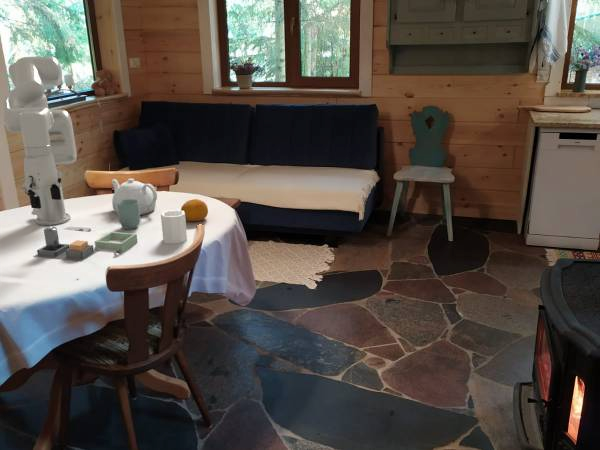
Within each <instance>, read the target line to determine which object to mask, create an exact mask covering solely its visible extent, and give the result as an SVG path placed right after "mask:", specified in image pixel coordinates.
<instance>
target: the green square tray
mask: <svg viewBox="0 0 600 450" xmlns="http://www.w3.org/2000/svg"><path fill="white" fill-rule="evenodd" d="M113 239H118V240H123V241H121V242H113V241H111V240H113ZM136 244H138V234H137V233H129V232H119V231H110V232H108V233H107V234H105V235H103V236H102V237H100V238H98V239H97V240H94V246H95V248H99V249H109V250H117V251H115V252H114V253H115V254H123V253H125V252H126V251H127V250H129V249H130V248H132V247H134V246H135V245H136Z"/></svg>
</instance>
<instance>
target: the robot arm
mask: <svg viewBox="0 0 600 450" xmlns="http://www.w3.org/2000/svg"><path fill="white" fill-rule="evenodd" d="M8 75H9V77H10V80H11V82H12V85H13V87H14V88H13V89H11V90H10V91H9V92H8V94H6V96H5V97H4V99H3V102H2V117H3V124H4V126H5V128H6V130H7V131H9V132H10V133H21V136H22V142H23V149H24V154H25V157H24V158H23V159H24V160H23V170H24V180H25V181H24V182H23V184H22V186H21V187H22V188H23V189H22V190H24V194H26V195H27V196H28V197H29V201H30V207H31V208H32V210H31V215H35V216H36V217H35V223H36V224H37V225H41V226H53V225H54V226H55V225H60V224H63V223H66V222H68V221H70V220H71V214H69V213H66V209H65V208H66V207H65V200H64V194H63V188H62V176H63V175H62V174H63V173H62V172H61V171H60V170H58V169H57V166H58V165H65V164H72V163H75V162H76V161H77V155H78V153H77V145H76V140H75V134H74V133H75V132H74V127H73V122H72V118H71V115H70V113H69V112H68V111H67V110H65V109H50V108H49V105H48V97H47V96H46V93H45V92H46V88H45V86H55V85H56V86H57V85H60V84H61V83H62V82H63V81H62V80H63V71H62V66H61V64H60V61H59V60H58V59H57V58H56V57H54V56H49V55H48V56H24V57H21V58H19V59H18V60H16V61H15V62H14V63H11V64H10V65H9V66H8ZM52 136H58V137H61V138H56V139H51V138H50V137H52ZM56 165H57V166H56Z"/></svg>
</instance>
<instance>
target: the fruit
mask: <svg viewBox="0 0 600 450" xmlns="http://www.w3.org/2000/svg"><path fill="white" fill-rule="evenodd" d="M180 210H181V211H184V212H185V219H186V222H187V221H188V222H200V221H202V220H204V219H206V218H207V216H208V213H209V209H208V205H207V203H205V201H203V200H201V199H198V198H197V199H196V198H194V199H193V198H192V199H190V200H189V199H188V200H187V201H186V202H184V204H182V206H181V207H180Z"/></svg>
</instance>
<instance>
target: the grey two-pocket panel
mask: <svg viewBox="0 0 600 450" xmlns="http://www.w3.org/2000/svg"><path fill="white" fill-rule="evenodd" d="M59 245H60V249H58V250H56V251H49V250H47V247H46V245H43V246H42V247H40V248H39V249H37V251H36V253H37V254H35V255H33V257H34V258H35V257H36V258H45V259H51V260H52V259H53V260H62V261H71V262H81V263H82V262H83V261H85V260H87V259H88V258H90V257H91V256H93V255H95V254H96V253H98V252H100V251H101V250H100V249H94V245H93V244H88V247H87V248H86V249H84V250H82V251H75V250H70V246H69V244H68V243H59Z"/></svg>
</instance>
